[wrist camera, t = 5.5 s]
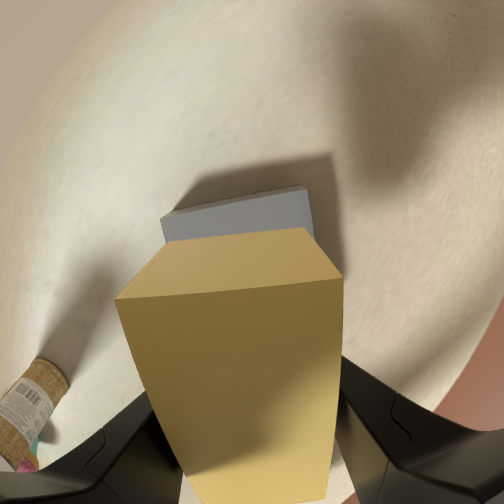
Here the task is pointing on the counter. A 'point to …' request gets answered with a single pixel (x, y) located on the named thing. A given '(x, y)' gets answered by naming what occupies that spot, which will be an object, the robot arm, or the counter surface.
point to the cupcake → (30, 460)
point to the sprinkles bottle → (28, 411)
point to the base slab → (241, 215)
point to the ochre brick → (242, 361)
